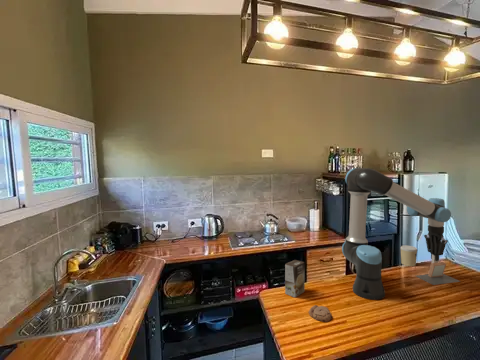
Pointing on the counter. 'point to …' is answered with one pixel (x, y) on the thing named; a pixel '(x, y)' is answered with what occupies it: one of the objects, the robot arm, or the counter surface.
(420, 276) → the slate board
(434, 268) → the tile
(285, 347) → the counter surface
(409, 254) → the coffee cup
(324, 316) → the cookie
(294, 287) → the coffee box
